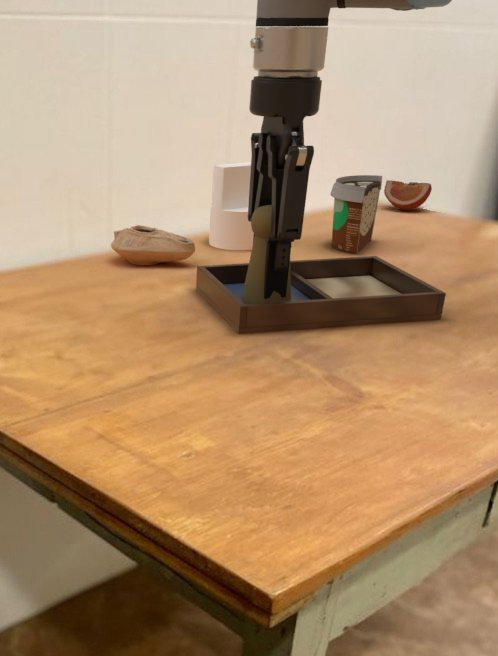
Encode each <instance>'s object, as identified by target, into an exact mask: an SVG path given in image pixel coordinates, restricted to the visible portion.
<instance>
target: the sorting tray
mask: <svg viewBox="0 0 498 656" xmlns="http://www.w3.org/2000/svg"><path fill="white" fill-rule="evenodd" d="M248 266H249V262H245V263H232V264H231V263H230V264H229V263H228V264H213V265H212V264H211V265H209V264H208V265H197V266H196V283H195V285H196V286H195V291H196V292H197V293H198V294H199V295H200V296H201V297H202V299H203V300H204V301H205V302H207V304H208V305H209V306H210V307H211V308H213V310H214V311H215V312H216V313H217V314H218V315H219V316H220V317H221V318H222V319H223V320H224V321H225V322H226V323H227V324H228V325H229V326H230V327H231V328H232V329H233V330H234V331H235V332H236V334H238V335H246V334H260V333H261V334H262V333H274V332H275V333H277V332H287V331H288V332H289V331H290V332H291V331H301V330H302V331H303V330H317V329H332V328H344V327H345V328H346V327H358V326H359V327H360V326H361V327H362V326H372V325H373V326H374V325H386V324H387V325H388V324H400V323H415V322H416V323H417V322H428V321H441V320H442V314H443V310H444V305H445V300H446V295H447V293H446V292H445V291H443V290H440V288H437V287H435V286H434V285H432V284H430V283H428V282H426V281H424V280H422V279H421V278H418V277H417V276H414V275H412V274H411V273H409V272H407V271H405V270H403V269H401V268H400V267H398V266H397V265H393V264H392V263H390V262H388V261H386V260H384V259H383V258H381V257H379V256H377V255H369V256H367V255H366V256H351V257H349V256H348V257H334V258H333V257H331V258H318V259H316V258H314V259H299V260H298V259H297V260H290V274H291V301H287V302H272V303H257V304H246V303H244V302H243V301H242V295H243V290H244V285H245V280H246V275H247V271H248Z"/></svg>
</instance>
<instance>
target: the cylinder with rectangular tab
mask: <svg viewBox="0 0 498 656" xmlns="http://www.w3.org/2000/svg"><path fill="white" fill-rule="evenodd" d="M250 174H251V161H245V162H234V163H233V162H232V163H222V164H221V163H219V164H213V170H212V187H211V188H212V192H211V205H210V215H209V231H208V232H209V233H208V234H209V235H208V244H209V246H211V247H213V248H216V249H220V250H221V249H222V250H227V251H252V247H253V236H254V233H253V231H252V227H251V222H249V221H248V205H249V190H250Z"/></svg>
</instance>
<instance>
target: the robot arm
mask: <svg viewBox="0 0 498 656" xmlns="http://www.w3.org/2000/svg"><path fill="white" fill-rule="evenodd" d="M452 1H453V0H257V2H256V18H255V31H254V38H251V40H250V41H249V45H250V49H252V50H253V60H252V68H253V70H254V71H257V75H256V76H253V77H252V78H253V79H251V80H250V81H251V82H250V94H249V112H250V113H251V114H252V115H253V116H257V117H263V118H262V124H261V127H260V132H252V133H251V136H250V147H251V148H250V149H251V159H250V162H251V174H250V190H249V205H248V221H249V222H251V218H252V215H253V213H254V211H255V210H256V209H257V208H259V207H261V206H266V205H272V218H271V237H267V238H265V242H266V243H267V250H266V261H265V280H264V298H270V296H271V295H272V293H273V291H275V292H277V293H279V294H280V295H281V297H286V291H287V282H288V272H289V262H290V261H291V252H292V251H291V250H292V244H293V242H294V241H295V240H301V238H302V235H303V228H304V227H303V226H304V218H305V209H306V202H307V193H308V186H309V177H310V169H311V165H312V162H313V158H314V154H315V147H314V146H313V145H305V131H304V119H305V118H306V117H313V116H315V115H317V114H318V112H319V110H320V103H321V94H322V85H323V79H321V77H320V76H318V75H319V74H318V73H319V72H320V71H322V70H323V69H324V68H325V62H326V53H327V46H328V45H327V44H328V34H329V17H330V12H331V9H337V8H338V9H347V8H348V9H350V8H351V9H390V10H394V11H402V12H404V11H405V12H406V11H411V10H416V11H417V10H425V9H427V8H428V9H429V8H442V7H445V6H448V5H449V4H451V2H452ZM254 237H255V234H254V236H253V242H254Z"/></svg>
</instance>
